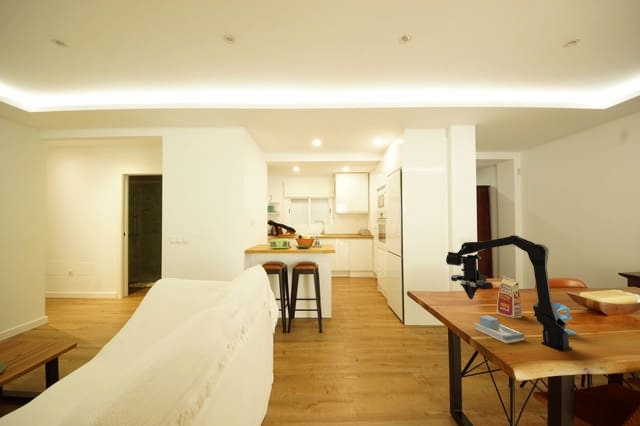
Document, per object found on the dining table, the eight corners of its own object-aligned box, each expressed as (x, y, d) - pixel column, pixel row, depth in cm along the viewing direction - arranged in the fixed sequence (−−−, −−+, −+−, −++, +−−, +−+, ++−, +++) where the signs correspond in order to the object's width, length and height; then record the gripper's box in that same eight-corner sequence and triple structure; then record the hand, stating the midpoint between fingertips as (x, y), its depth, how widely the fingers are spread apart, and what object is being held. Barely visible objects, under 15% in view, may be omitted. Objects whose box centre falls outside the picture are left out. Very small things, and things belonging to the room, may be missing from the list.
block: (499, 329, 104) (498, 319, 104) (490, 331, 102) (490, 320, 103) (488, 325, 108) (488, 315, 109) (480, 326, 107) (479, 316, 107)
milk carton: (496, 313, 126) (494, 276, 128) (506, 310, 130) (503, 274, 132) (516, 319, 118) (513, 279, 120) (525, 316, 122) (523, 277, 124)
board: (524, 340, 96) (524, 333, 96) (506, 343, 93) (505, 336, 94) (491, 326, 109) (491, 321, 110) (474, 328, 107) (474, 323, 107)
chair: (541, 328, 107) (539, 302, 108) (555, 327, 108) (553, 301, 109) (561, 336, 99) (558, 307, 100) (576, 334, 101) (574, 306, 101)
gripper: (501, 270, 108) (502, 304, 108) (466, 263, 126) (467, 292, 126) (482, 271, 106) (483, 306, 105) (449, 264, 123) (450, 294, 123)
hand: (471, 299), depth 114 cm, fingers closed
